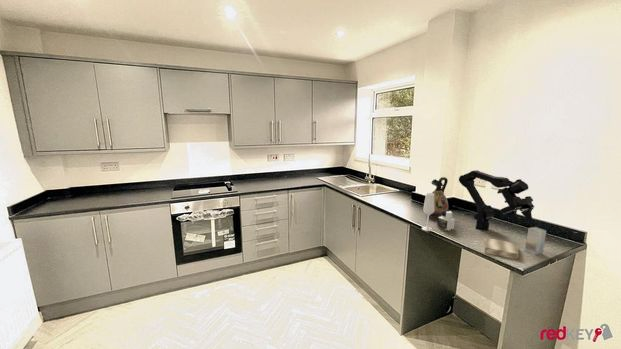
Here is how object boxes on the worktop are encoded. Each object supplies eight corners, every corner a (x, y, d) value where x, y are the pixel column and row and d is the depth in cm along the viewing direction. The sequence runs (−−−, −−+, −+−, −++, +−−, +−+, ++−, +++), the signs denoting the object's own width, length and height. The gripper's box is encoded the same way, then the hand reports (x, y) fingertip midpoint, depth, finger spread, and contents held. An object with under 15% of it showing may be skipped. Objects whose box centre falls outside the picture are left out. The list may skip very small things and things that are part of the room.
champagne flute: (434, 229, 167) (438, 194, 163) (429, 232, 163) (432, 195, 159) (425, 226, 172) (428, 191, 168) (419, 228, 169) (422, 193, 164)
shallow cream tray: (484, 252, 136) (485, 247, 136) (484, 242, 148) (484, 237, 147) (517, 259, 129) (518, 254, 128) (514, 248, 141) (515, 243, 140)
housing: (534, 255, 133) (538, 231, 131) (525, 250, 138) (528, 227, 136) (542, 254, 134) (546, 230, 132) (532, 249, 139) (536, 227, 137)
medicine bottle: (437, 227, 171) (438, 210, 169) (444, 225, 174) (446, 208, 172) (446, 231, 165) (448, 213, 162) (454, 229, 167) (455, 211, 165)
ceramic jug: (434, 220, 182) (437, 179, 177) (420, 213, 197) (422, 175, 191) (454, 218, 186) (458, 178, 181) (439, 211, 201) (442, 174, 195)
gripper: (510, 192, 140) (527, 219, 133) (535, 190, 145) (552, 216, 138) (494, 200, 149) (508, 226, 142) (517, 198, 154) (532, 222, 147)
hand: (525, 222), depth 142 cm, fingers open, 9 cm apart
